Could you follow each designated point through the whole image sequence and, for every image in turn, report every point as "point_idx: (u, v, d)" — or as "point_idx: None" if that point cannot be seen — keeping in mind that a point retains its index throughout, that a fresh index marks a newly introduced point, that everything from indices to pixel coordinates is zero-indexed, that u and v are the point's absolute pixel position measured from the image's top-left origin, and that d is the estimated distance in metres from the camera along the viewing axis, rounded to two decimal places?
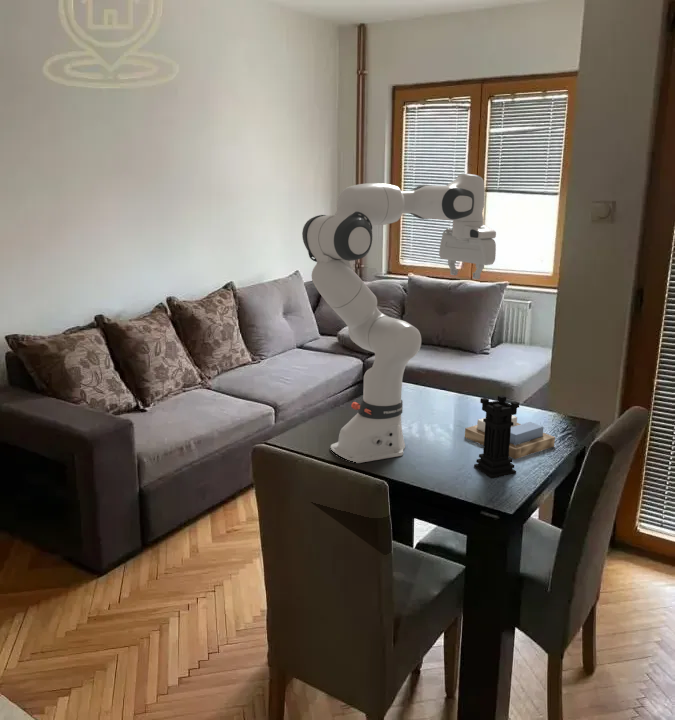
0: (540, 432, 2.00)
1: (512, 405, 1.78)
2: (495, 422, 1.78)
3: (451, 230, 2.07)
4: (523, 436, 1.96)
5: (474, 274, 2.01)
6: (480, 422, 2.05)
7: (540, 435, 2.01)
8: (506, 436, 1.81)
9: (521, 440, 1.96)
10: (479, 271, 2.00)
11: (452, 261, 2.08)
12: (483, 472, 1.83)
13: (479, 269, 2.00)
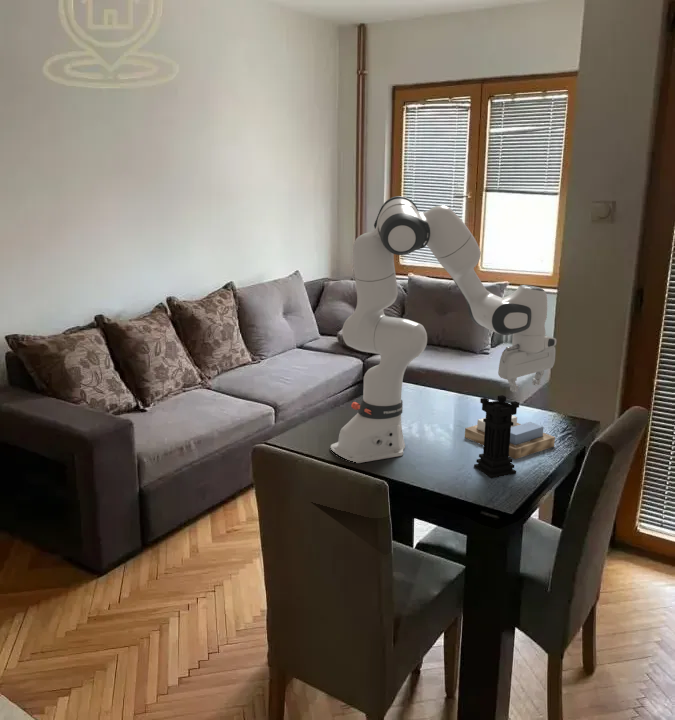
0: (540, 432, 2.00)
1: (512, 405, 1.78)
2: (495, 422, 1.78)
3: (514, 347, 1.89)
4: (523, 436, 1.96)
5: (538, 381, 1.98)
6: (480, 422, 2.05)
7: (540, 435, 2.01)
8: (506, 436, 1.81)
9: (521, 440, 1.96)
10: None
11: None
12: (483, 472, 1.83)
13: None
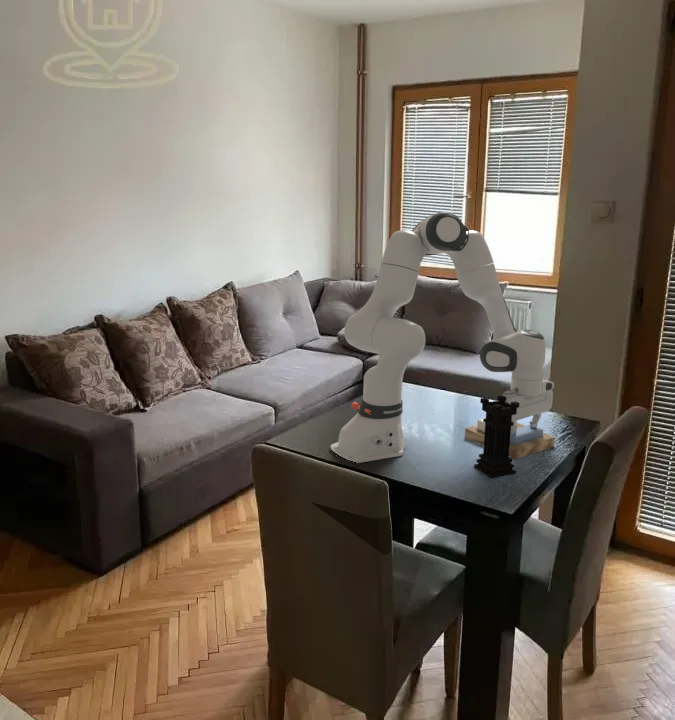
0: (540, 435, 2.01)
1: (512, 405, 1.78)
2: (495, 422, 1.78)
3: (513, 391, 1.93)
4: (523, 439, 1.97)
5: (536, 423, 2.02)
6: (480, 422, 2.05)
7: None
8: (506, 436, 1.81)
9: None
10: None
11: None
12: (483, 472, 1.83)
13: None
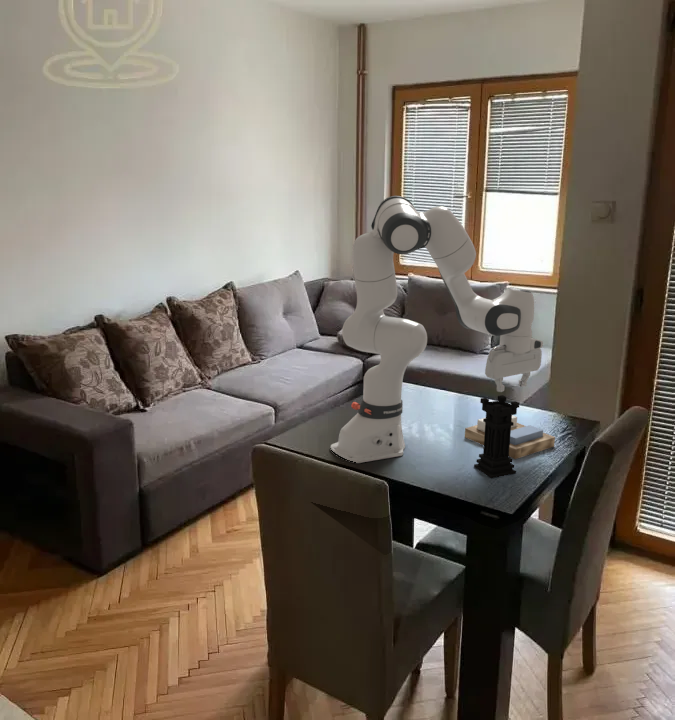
0: (540, 435, 2.01)
1: (512, 405, 1.78)
2: (495, 422, 1.78)
3: (501, 347, 1.94)
4: (523, 440, 1.97)
5: (525, 382, 2.02)
6: (480, 422, 2.05)
7: None
8: (506, 436, 1.81)
9: None
10: None
11: None
12: (483, 472, 1.83)
13: None
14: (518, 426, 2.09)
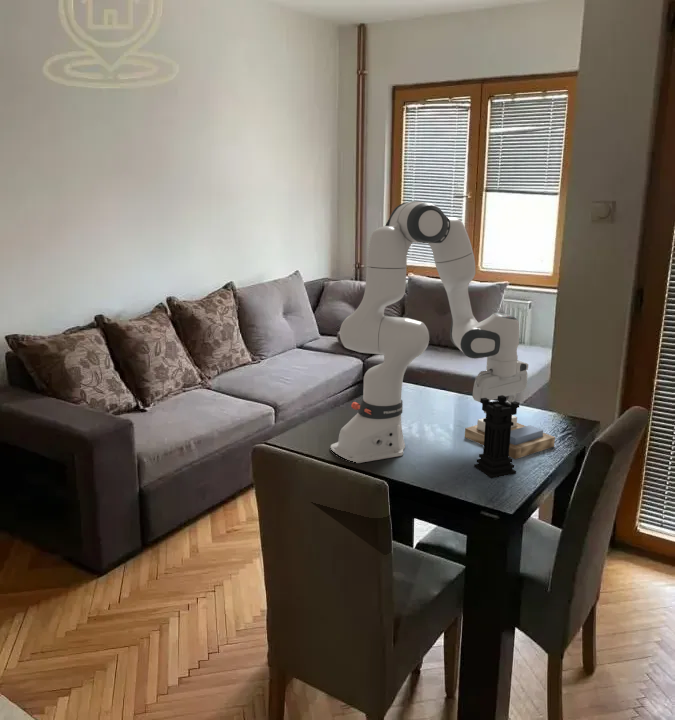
0: (540, 435, 2.01)
1: (512, 405, 1.78)
2: (495, 422, 1.78)
3: (488, 371, 1.99)
4: (523, 440, 1.97)
5: None
6: (480, 422, 2.05)
7: None
8: (506, 436, 1.81)
9: None
10: None
11: None
12: (483, 472, 1.83)
13: None
14: (518, 426, 2.09)
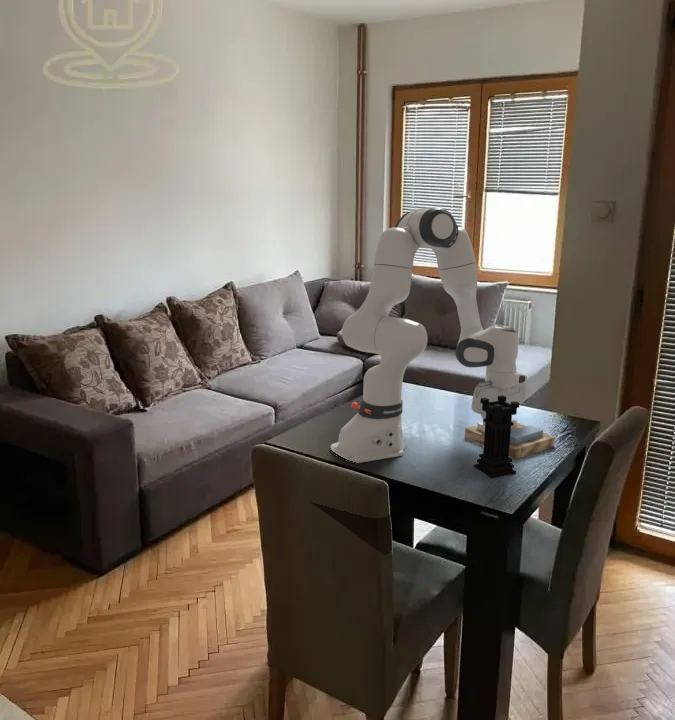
0: (540, 435, 2.01)
1: (512, 405, 1.78)
2: (495, 422, 1.78)
3: (487, 383, 2.00)
4: (523, 440, 1.97)
5: None
6: (480, 425, 2.05)
7: None
8: (506, 436, 1.81)
9: None
10: None
11: None
12: (483, 472, 1.83)
13: None
14: (518, 426, 2.09)
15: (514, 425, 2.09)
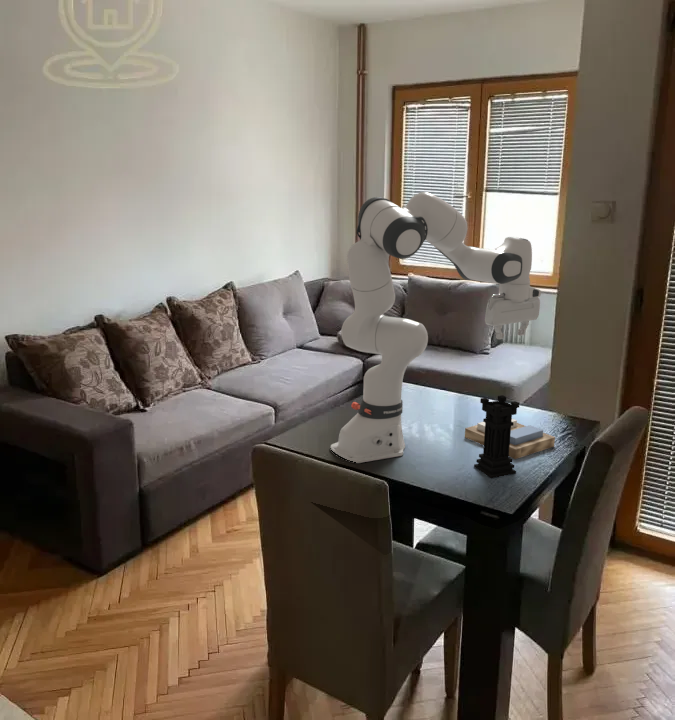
0: (540, 435, 2.01)
1: (512, 405, 1.78)
2: (495, 422, 1.78)
3: (500, 295, 1.99)
4: (523, 440, 1.97)
5: (523, 331, 2.08)
6: (480, 425, 2.05)
7: None
8: (506, 436, 1.81)
9: None
10: None
11: None
12: (483, 472, 1.83)
13: None
14: (518, 426, 2.09)
15: (514, 425, 2.09)
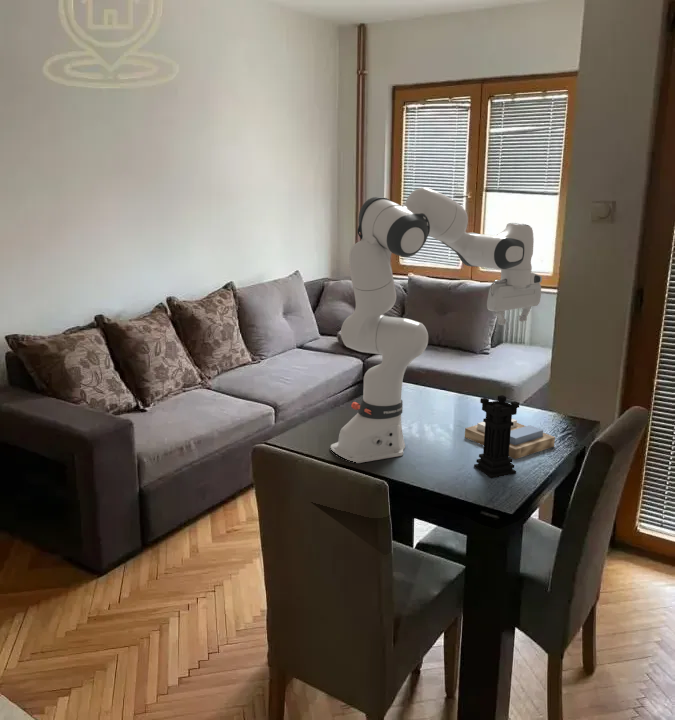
0: (540, 435, 2.01)
1: (512, 405, 1.78)
2: (495, 422, 1.78)
3: (502, 281, 2.00)
4: (523, 440, 1.97)
5: (525, 317, 2.09)
6: (480, 425, 2.05)
7: None
8: (506, 436, 1.81)
9: None
10: None
11: None
12: (483, 472, 1.83)
13: None
14: (518, 426, 2.09)
15: (514, 425, 2.09)
